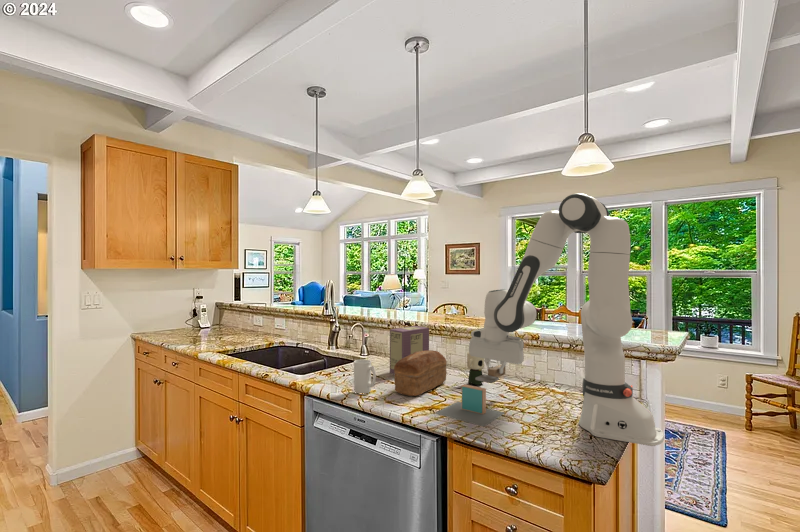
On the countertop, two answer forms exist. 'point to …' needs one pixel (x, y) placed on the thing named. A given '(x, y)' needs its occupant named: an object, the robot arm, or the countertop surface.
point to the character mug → (475, 368)
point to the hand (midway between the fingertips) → (495, 372)
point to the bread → (419, 372)
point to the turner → (491, 375)
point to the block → (474, 399)
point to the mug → (363, 376)
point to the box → (407, 342)
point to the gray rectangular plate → (469, 414)
